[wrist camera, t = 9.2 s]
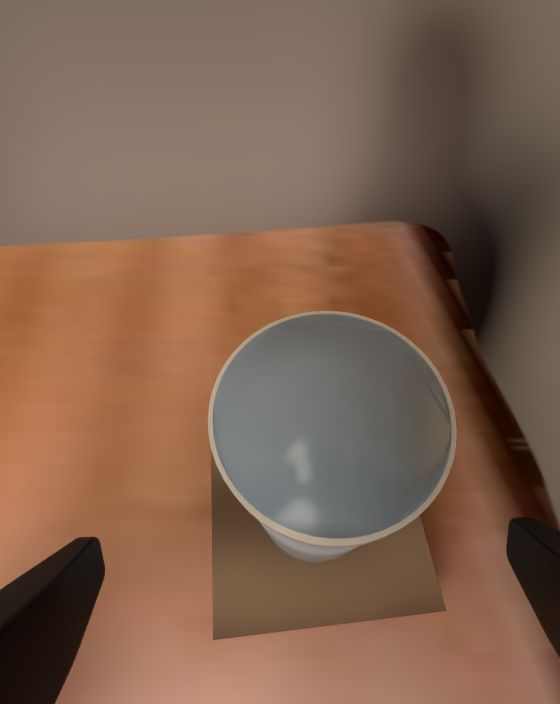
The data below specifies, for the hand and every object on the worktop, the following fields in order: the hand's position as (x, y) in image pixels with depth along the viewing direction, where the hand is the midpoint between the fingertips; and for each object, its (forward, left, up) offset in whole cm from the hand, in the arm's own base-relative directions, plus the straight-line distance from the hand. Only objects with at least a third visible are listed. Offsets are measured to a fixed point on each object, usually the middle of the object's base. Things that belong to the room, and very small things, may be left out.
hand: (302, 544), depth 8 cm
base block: (+3, -1, -14) cm, 14 cm away
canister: (+2, -1, -11) cm, 11 cm away
